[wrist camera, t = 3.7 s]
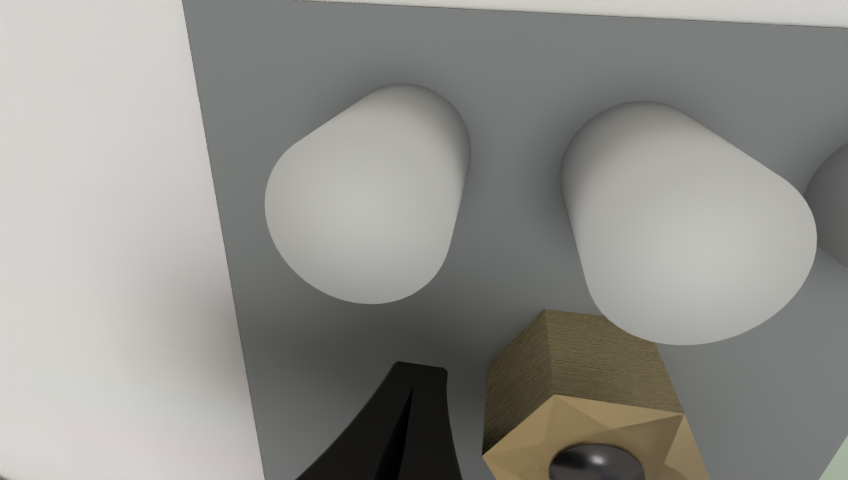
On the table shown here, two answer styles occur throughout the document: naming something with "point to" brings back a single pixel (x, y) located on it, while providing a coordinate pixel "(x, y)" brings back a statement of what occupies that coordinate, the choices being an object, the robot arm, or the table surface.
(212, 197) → the table surface
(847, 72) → the spacer board
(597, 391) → the nut
